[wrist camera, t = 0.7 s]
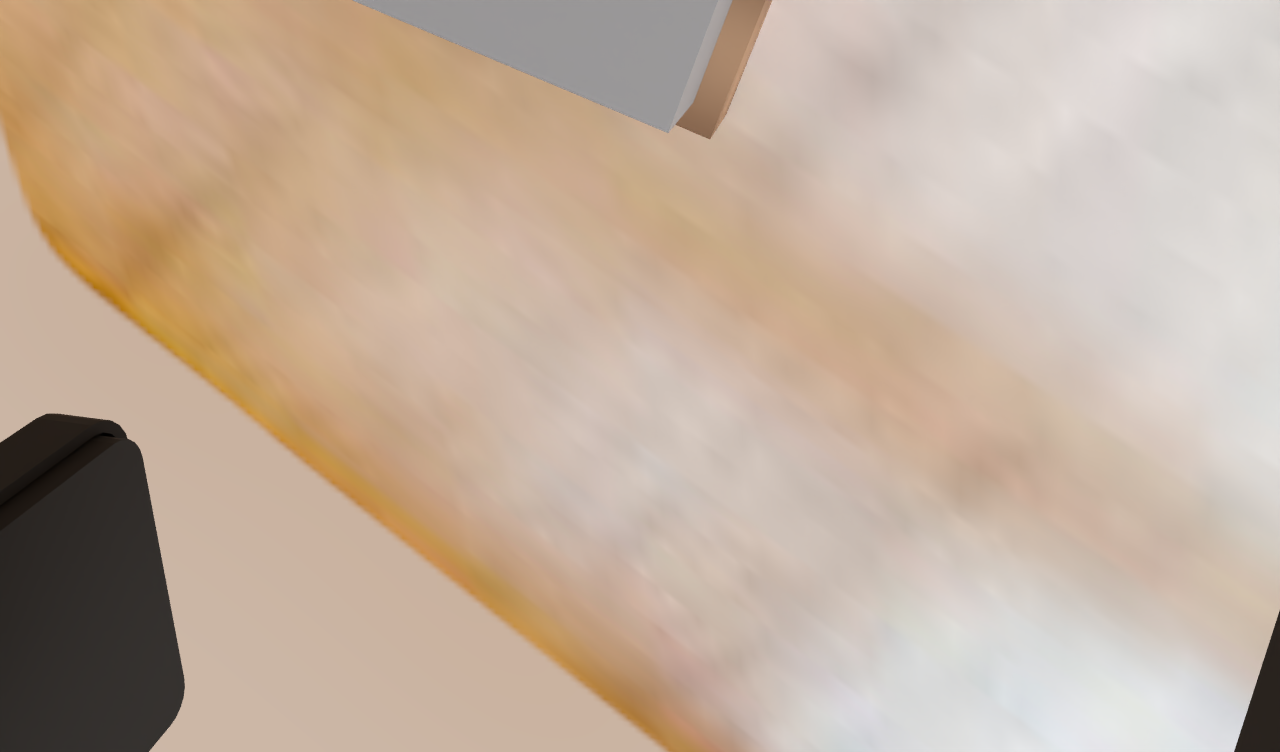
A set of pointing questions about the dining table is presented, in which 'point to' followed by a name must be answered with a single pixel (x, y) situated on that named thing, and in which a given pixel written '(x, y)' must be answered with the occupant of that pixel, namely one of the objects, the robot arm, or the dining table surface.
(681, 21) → the tower top
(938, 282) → the dining table surface
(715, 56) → the tower base
